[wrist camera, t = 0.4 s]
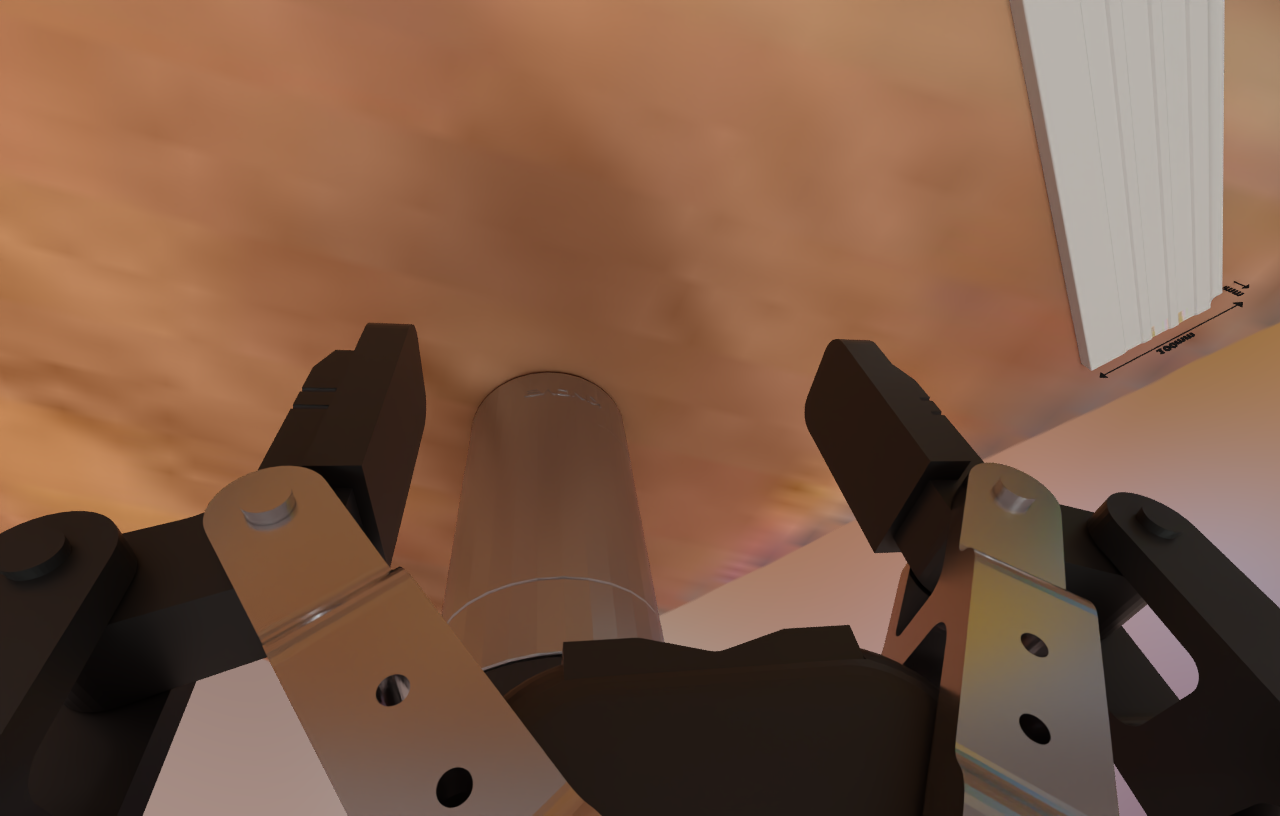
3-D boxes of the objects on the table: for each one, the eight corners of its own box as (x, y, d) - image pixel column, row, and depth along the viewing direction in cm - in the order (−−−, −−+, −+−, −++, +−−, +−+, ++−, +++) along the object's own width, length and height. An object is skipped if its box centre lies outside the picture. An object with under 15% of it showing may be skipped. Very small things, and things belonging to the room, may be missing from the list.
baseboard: (1248, -393, 19) (964, -166, 22) (1342, -444, 17) (1013, -183, 19) (1233, 274, 36) (1074, 359, 38) (1279, 293, 34) (1107, 383, 36)
